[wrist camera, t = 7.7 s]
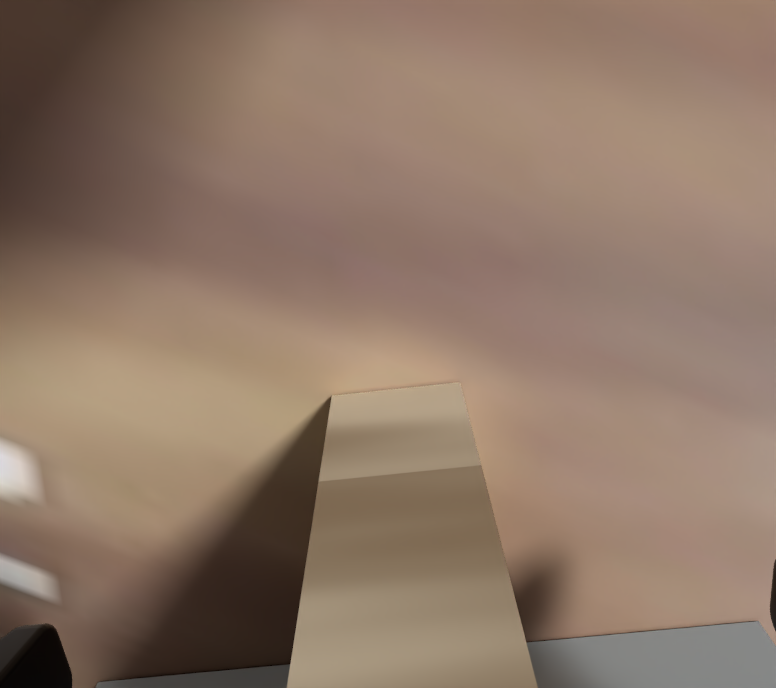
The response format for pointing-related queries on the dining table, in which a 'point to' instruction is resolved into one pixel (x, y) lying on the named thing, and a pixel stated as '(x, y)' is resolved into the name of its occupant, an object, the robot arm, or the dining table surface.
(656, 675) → the gray u-shaped block
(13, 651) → the robot arm
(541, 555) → the dining table surface
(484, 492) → the birch plate
